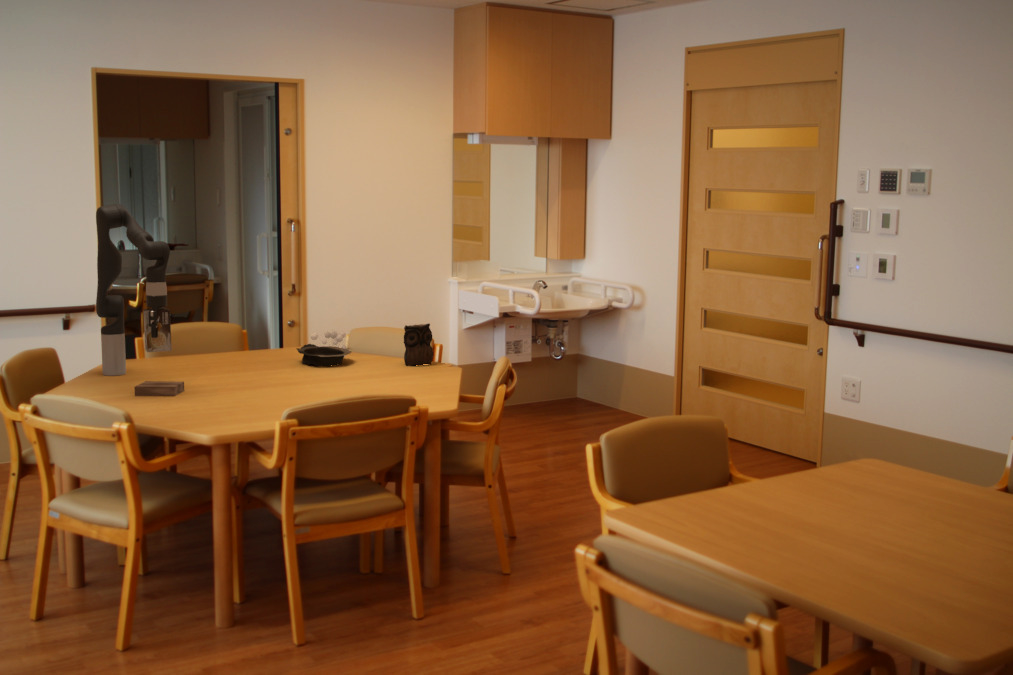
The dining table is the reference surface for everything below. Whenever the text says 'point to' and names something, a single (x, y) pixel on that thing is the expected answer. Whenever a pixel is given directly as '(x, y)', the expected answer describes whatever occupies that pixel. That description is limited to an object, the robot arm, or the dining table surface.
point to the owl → (418, 345)
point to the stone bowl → (322, 355)
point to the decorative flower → (333, 336)
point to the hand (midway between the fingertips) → (157, 336)
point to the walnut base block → (159, 388)
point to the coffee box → (163, 332)
